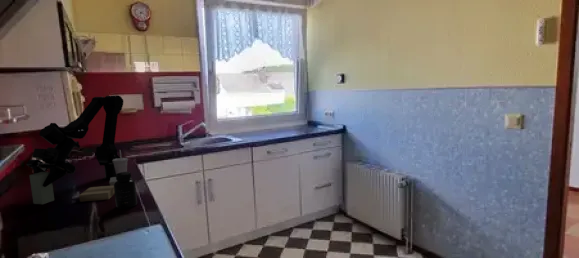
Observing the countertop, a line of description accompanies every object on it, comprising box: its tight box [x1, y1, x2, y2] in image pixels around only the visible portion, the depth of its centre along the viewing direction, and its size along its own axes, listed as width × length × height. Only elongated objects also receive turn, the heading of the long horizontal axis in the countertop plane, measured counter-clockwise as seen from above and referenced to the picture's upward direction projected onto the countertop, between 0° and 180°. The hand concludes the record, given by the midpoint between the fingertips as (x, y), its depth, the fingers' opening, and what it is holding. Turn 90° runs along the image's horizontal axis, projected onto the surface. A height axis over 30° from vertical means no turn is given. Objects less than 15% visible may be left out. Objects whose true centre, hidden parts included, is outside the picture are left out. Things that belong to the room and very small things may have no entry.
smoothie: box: [112, 149, 129, 174], centre depth 152 cm, size 6×6×14 cm
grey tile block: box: [108, 177, 117, 186], centre depth 142 cm, size 8×8×4 cm
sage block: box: [28, 171, 55, 205], centre depth 125 cm, size 5×5×11 cm
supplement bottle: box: [114, 171, 138, 210], centre depth 117 cm, size 7×7×12 cm
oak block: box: [78, 185, 115, 203], centre depth 130 cm, size 10×10×3 cm
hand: (38, 186), depth 123 cm, fingers open, 5 cm apart
